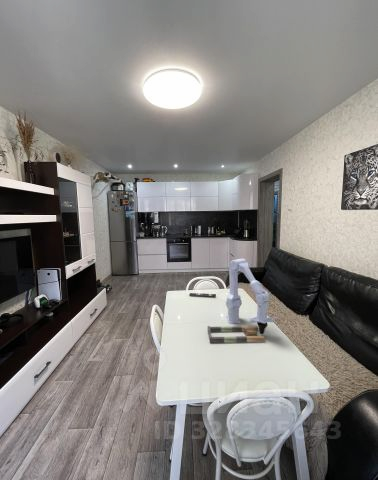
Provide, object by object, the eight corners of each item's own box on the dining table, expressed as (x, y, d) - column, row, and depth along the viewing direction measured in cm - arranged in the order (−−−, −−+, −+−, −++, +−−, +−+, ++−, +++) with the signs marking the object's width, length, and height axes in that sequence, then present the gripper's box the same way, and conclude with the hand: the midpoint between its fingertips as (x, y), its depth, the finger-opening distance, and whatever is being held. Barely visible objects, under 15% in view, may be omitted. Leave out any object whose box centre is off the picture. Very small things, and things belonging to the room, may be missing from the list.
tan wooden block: (244, 333, 131) (244, 326, 130) (253, 333, 131) (253, 326, 131) (247, 339, 125) (247, 332, 124) (257, 338, 125) (257, 331, 125)
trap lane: (207, 330, 134) (207, 326, 134) (256, 329, 135) (256, 325, 134) (209, 343, 121) (209, 338, 121) (264, 342, 122) (264, 337, 121)
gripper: (252, 315, 122) (251, 337, 124) (277, 315, 122) (276, 337, 124) (248, 309, 129) (248, 330, 131) (272, 309, 129) (271, 330, 131)
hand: (261, 333), depth 128 cm, fingers closed
